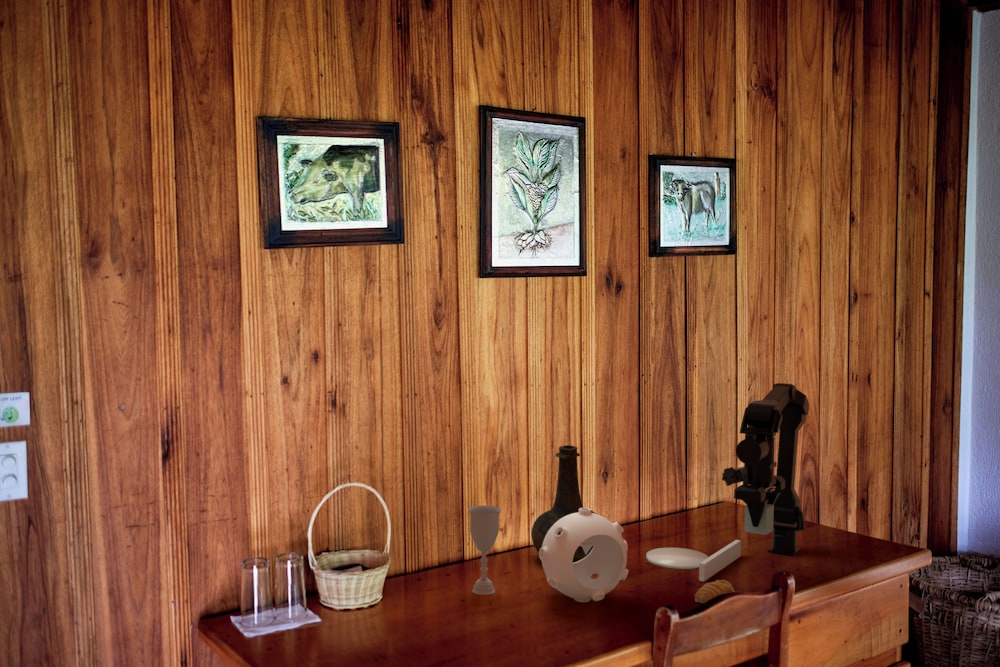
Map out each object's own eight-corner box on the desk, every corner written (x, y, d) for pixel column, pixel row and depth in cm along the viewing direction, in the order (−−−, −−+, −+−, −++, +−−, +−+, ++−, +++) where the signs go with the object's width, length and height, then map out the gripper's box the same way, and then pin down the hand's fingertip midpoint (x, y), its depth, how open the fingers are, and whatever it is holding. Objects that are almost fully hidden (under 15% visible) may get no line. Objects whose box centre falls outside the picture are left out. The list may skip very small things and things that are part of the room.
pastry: (712, 610, 195) (712, 592, 195) (685, 601, 200) (686, 584, 200) (738, 600, 201) (738, 583, 201) (712, 592, 206) (712, 575, 206)
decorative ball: (605, 582, 211) (607, 496, 210) (643, 607, 195) (645, 514, 194) (523, 591, 204) (524, 502, 203) (556, 618, 188) (557, 522, 187)
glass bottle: (620, 564, 225) (623, 448, 223) (561, 577, 214) (564, 455, 213) (573, 546, 239) (576, 437, 238) (516, 557, 229) (518, 443, 228)
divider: (735, 555, 233) (736, 539, 233) (740, 556, 233) (740, 540, 233) (699, 580, 214) (699, 563, 213) (704, 581, 213) (704, 564, 213)
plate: (661, 547, 240) (661, 544, 240) (718, 557, 231) (718, 554, 231) (636, 561, 227) (636, 558, 227) (694, 573, 219) (694, 569, 219)
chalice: (504, 588, 206) (505, 507, 205) (494, 598, 200) (495, 514, 199) (473, 584, 209) (474, 504, 208) (462, 593, 202) (463, 511, 201)
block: (752, 526, 221) (752, 501, 221) (773, 530, 218) (773, 504, 218) (744, 531, 217) (745, 505, 217) (766, 534, 214) (766, 509, 214)
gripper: (741, 447, 229) (739, 511, 230) (712, 459, 213) (711, 527, 214) (786, 453, 223) (784, 518, 224) (761, 465, 207) (759, 535, 208)
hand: (759, 524), depth 217 cm, fingers closed on block, 5 cm apart
